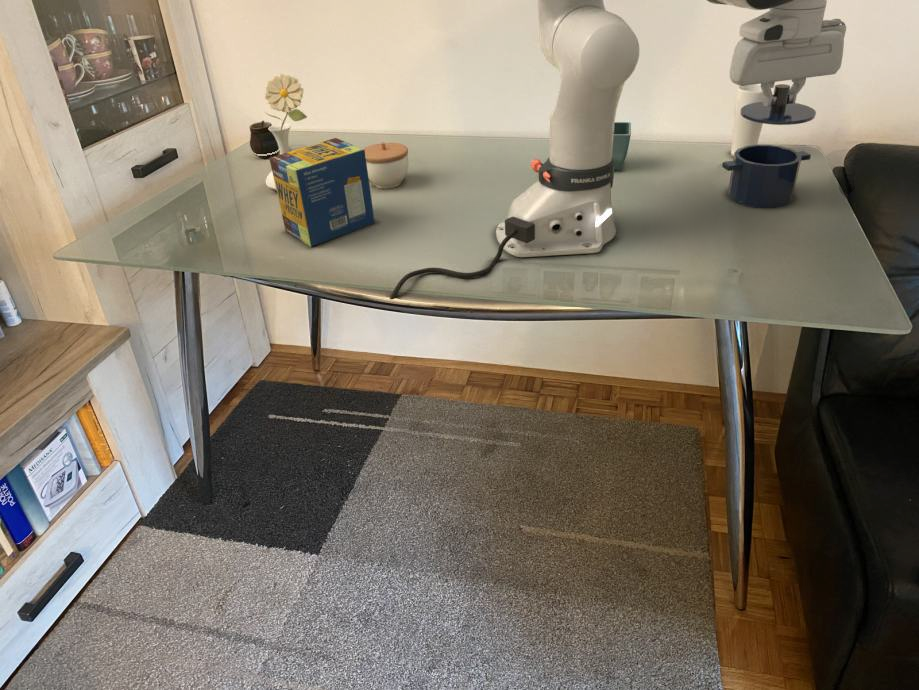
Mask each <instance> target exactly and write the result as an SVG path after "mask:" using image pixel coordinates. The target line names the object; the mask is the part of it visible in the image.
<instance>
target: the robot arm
mask: <svg viewBox="0 0 919 690" xmlns="http://www.w3.org/2000/svg"><path fill="white" fill-rule="evenodd" d="M706 1H707V2H709V3H711V4H715V5H725V6H726V5H728V6H733V7H737V8H741V9H749V10H753V11H764V10H768V11H766V12H764V13H762V14H760V15H759V16H757V17H755V18H752V19H750V20H748V21H746V22H743V23H742V24H741V25H740V27H739V32H738V33H739V36H740V37H741V39H739V41H738V42H737V43H736V44H735V48H734V49H733V54H732V57H731V58H732V59H731V63H730V68H729V75H728V76H729V79H730V81H731V83H732V84H735V85H737V86H738V87H739V86H746V85H754V84H760V85H761V89H762V91H763V94H764V95H765V96H764V101H763V104H764V106H766V107H770V106H775V105H776V100H777V96H774V95H773V92H772V91H773V90H772V89H774V88H775V85H776V84H775V83H777V82H785V81H791V83H792V85H790V90H789V95H788V100H787V104H792V103H796V101H797V97H798V94H799V93H800V92H801V90H802V89H803V87H804V86H805V85H806V81H807V79H808V78H815V77H822V76H823V77H825V76H831V75H835V74H837V73H838V71H840V69H841V67H842V64H843V63H842V62H843V56H844V48H845V47H844V46H845V37H846V36H845V35H846V33H847V32H846V31H847V25H846V23H845V22H844V20H843V21H842V20H841V19H840V18H833V19H824V17H825V12H826V8H827V2H828V1H827V0H706ZM537 12H538V13H537V14H538V27H537V41H538V45H539V48H540V50H541V52H542V54H543V56H544V58H545V60H546V61H547V62H548V63H549V64H550V65H551V66H552V67H554V68H556V69H557V70H559V75H560V76H559V77H560V81H559V90H558V93H557V99H556V102H555V106H554V108H553V110H552V111H551V112H550V115H549V150H548V151H549V153H548V154H549V157H547V159H546V160H545V162H542V161H541V160H540V159H538V158H534V159H532V161H531V162H530V168H531V169H532V170H533V171H534V173H537V174H538V180H537V181H536V182H534V183H533V184H531V185H530V186H529V187H528V188H527V189H526V190H524V191H523V192H522V193H521V194H519V195H518V196H517V197H515V199H513V200H512V202H511V203H510V206H509V209H508V213H507V218H506V219H505V220H504V221H502V222H499V224H498V225H497V227H496V231H495V236H496V240H497V242H498V244H499V246H498V249H497V252H496V255H495V256H494V258H493V259H492V261H491V262H490V264H489V265H488V266H487V267H486V268H484V269H481V270H477V271H471V272H462V271H457V270H451V269H447V268H442V267H425V268H421V269H417V270H414V271H411V272H409V273H407V274H405V275H404V276H402V278H401V279H400V280H399V281H398V283H397V284H396V286H395V287H394V289H393V291H392V293H391V294H390V297H389V300H394V299H396V297H397V295H398V293H399V292H400V291H401V289H402V287H403V285H404V284H405V283H406V282H407V281H408V280H409V279H411V278H413V277H416V276H420V275H424V274H428V273H429V274H430V273H438V274H444V275H449V276H453V277H458V278H466V279H468V278H476V277H481V276H482V275H486V274H488V273H490V272H491V270H493V268H494V266H495V265H496V264H497V263H498V262H499V260H500V259H501V257H502V255H503V251H505V252H506V253H508V254H510V255H512V256H514V257H517V258H532V257H535V258H536V257H550V256H566V255H567V256H569V255H583V254H597V253H599V252H601V250H602V249H603V247H604V245H606V244H608V243H609V242H610V241H612V240H613V239H614V238H615V237H616V234H617V228H616V225H615V220H614V214H613V205H612V188H613V185H614V177H615V170H614V158H613V157H612V150H613V136H614V123H615V122H616V115H617V110H618V107H619V106H618V105H619V102H620V99H621V95H622V92H623V89H624V86H625V83H626V82H627V80H628V79H629V78H630V77H631V76H632V75H633V73H634V71H635V69H636V68H637V65H638V63H639V59H640V43H639V40H638V37H637V35H636V34H635V32H634V30H633V29H632V28H631V26H630V25H629V24H628V23H627V22H626V20H625V19H624V18H622V17H621V16H619V15H618V14H616V13H613V12H611V11H609V10H606V7H605V4H604V0H537Z"/></svg>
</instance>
